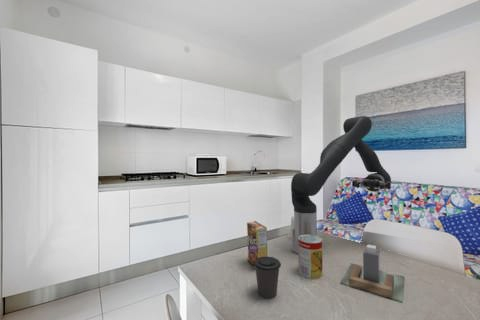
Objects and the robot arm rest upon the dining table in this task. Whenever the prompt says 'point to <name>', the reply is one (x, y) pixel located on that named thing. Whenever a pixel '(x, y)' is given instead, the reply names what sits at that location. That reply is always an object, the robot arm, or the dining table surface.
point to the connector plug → (371, 264)
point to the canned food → (310, 256)
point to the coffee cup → (267, 276)
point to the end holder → (386, 288)
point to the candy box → (256, 241)
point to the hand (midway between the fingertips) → (368, 186)
